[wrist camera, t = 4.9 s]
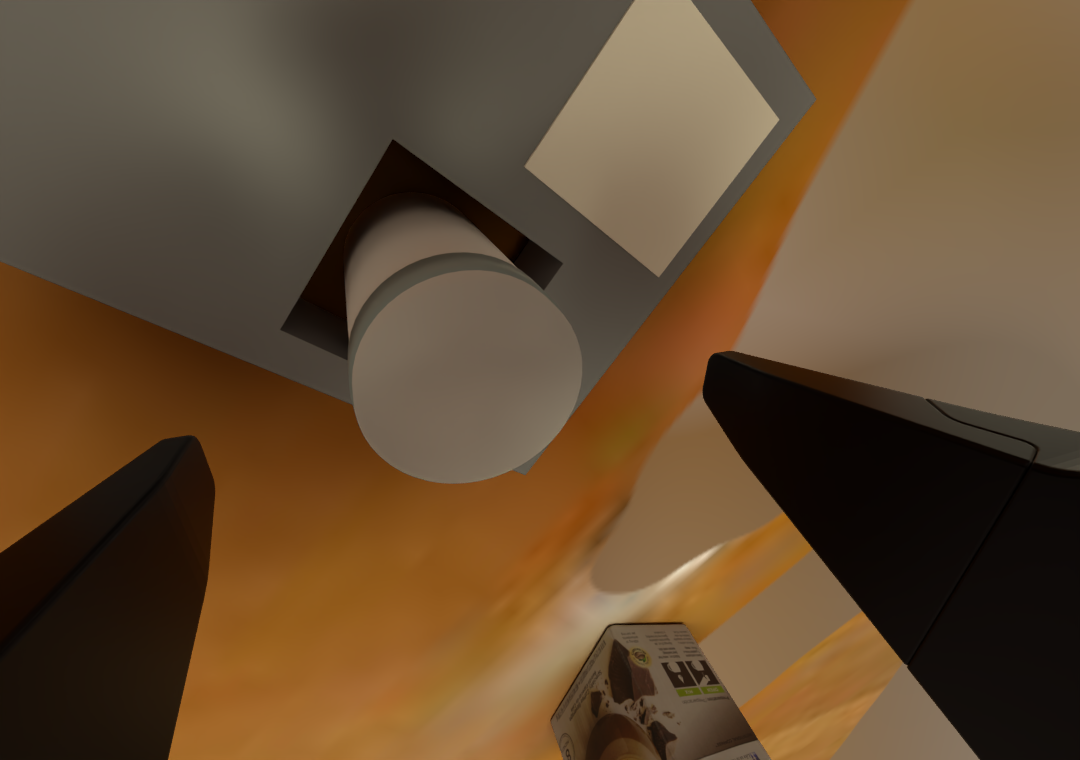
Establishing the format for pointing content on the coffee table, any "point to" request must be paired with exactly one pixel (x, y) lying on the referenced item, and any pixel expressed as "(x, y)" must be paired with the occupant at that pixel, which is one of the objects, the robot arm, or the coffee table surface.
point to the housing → (374, 149)
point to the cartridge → (451, 345)
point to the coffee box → (651, 702)
